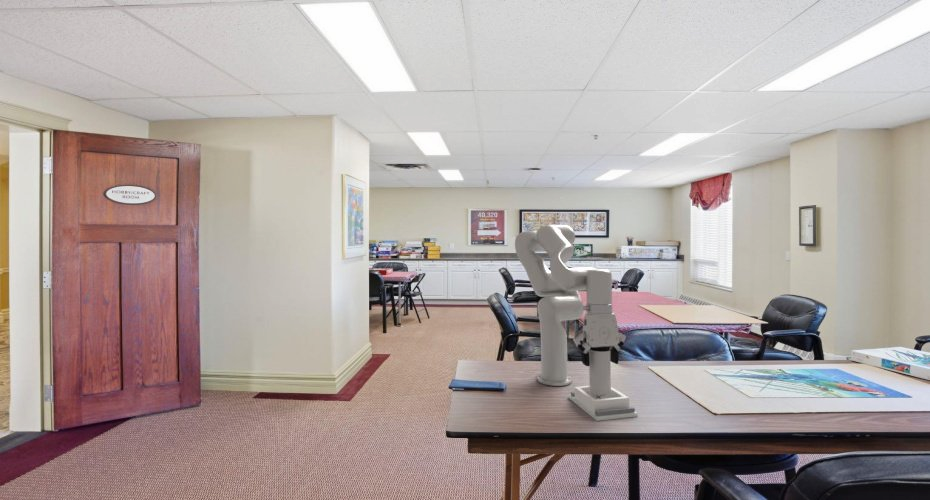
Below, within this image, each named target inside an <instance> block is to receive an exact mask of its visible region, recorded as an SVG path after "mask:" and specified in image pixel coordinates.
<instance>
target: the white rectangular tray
mask: <svg viewBox="0 0 930 500" xmlns="http://www.w3.org/2000/svg"><path fill="white" fill-rule="evenodd" d="M568 399H569V400H571V401H572V402H573V403H574V404H576V405H577V406H578V407H579V408H580V409H582V411H584V412H585V413H587V415H589V416H590V417H592V418H593V419H594V420H595V421H597V422H598V421H609V420H616V419H617V420H618V419H625V418H626V419H627V418H634V417H638V416H639V415H638V412H637V411H636V409H635V407H633V406H630V397H629V396H627V395H625V394H624V393H622V392H620V391H619V390H618V389H616V388H614V387H613V386H611V398H605V399H595V398H593V397H592V396H590V385H582V386H574V391H570V394H568Z"/></svg>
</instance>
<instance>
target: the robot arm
mask: <svg viewBox="0 0 930 500" xmlns="http://www.w3.org/2000/svg"><path fill="white" fill-rule="evenodd" d="M575 240H576V234H575V231H574V230H573V228H572V227H571V226H569V225H567V224H545V225H542V226H540V227H539V228H538V230H526V231H522V232H520V233H518V234H517V235H516V238H515V240H514V249H515V254H516V256H517V259H518V260H519V261H520V264H521V265H522V266H523V268H524V270H525V272H526V274H527V277H528V280H529V281H530V282H529V283H530V285H531V288H532V289H533V291H534V293H535V295H536V296H538V297H542V298H540V300H538V303H537V314H538V320H539V328H540V329H539V330H540V358H541V359H540V362H541V363H540V365H541V366H540V367H541V369H540V370H541V371H540V372H541V373H539V374H538V375H537V377H536V379H537V382H539V383H540V384H543V385H545V386H552V387H563V386H567V385H570V384H572V382H573V378H572V376H570V375H568V339H567V338H568V335H567V330H566V328H565V327H564V325H563V324H562V322H565V321H573V320H580V319H581V318H582V317H583V323H582V333H580V334H578V335H576V336H575V337H574V338H573V340H572V341H573V343H574V344H575V347H576V348H577V349H578V350H579V352H581V363H582V365H584V366H586V367H589V365H590V363H589V350H590V348H591V347H594V348H596V347H610V363H614V364H615V365H618V364H619V361H620V360H619V359H620V355H619V354H620V351H621V348H623V346H624V344H625V341H626V339H627V336H626V335H625V334H623V333H621V332H619V328H618V321H617V316H616V314H615V313H614V312H613V281H612V280H613V278H612V277H613V276H612V272H611V271H610V270H609V269H605V268H604V269H603V268H595V267H567V266H566V265H565V263H567V262H569V261H570V260H571V259H572V258H573V255H574V253H575V249H574V247H573V244H574V243H575ZM536 252H538V253H539V252H545V253H546V254H547V255H548V256H549V257H550V262H549V267H548V265H547V263H546V261H545V260H544V259H543V258H542V256H540V255H539V254H537V253H536ZM581 291H586V304H585V303H584V302H583V299H582V296H581V294H580V293H579V292H581ZM585 311H586V312H585ZM583 315H584V316H583ZM581 341H582V344H581Z"/></svg>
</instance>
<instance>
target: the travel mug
mask: <svg viewBox="0 0 930 500" xmlns="http://www.w3.org/2000/svg"><path fill="white" fill-rule="evenodd" d="M588 353H589V363H590V365H589V366H588V367H589V369H588V370H589V374H588V375H589V386H590V396H592V397H593V398H595V399H605V398H611V387H612V386H611V385H612V383H611V382H612V381H611V380H612V379H611V368H612V367H611V346H610V347H596V348H594V347H591V348H590V350H589V351H588Z"/></svg>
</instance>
